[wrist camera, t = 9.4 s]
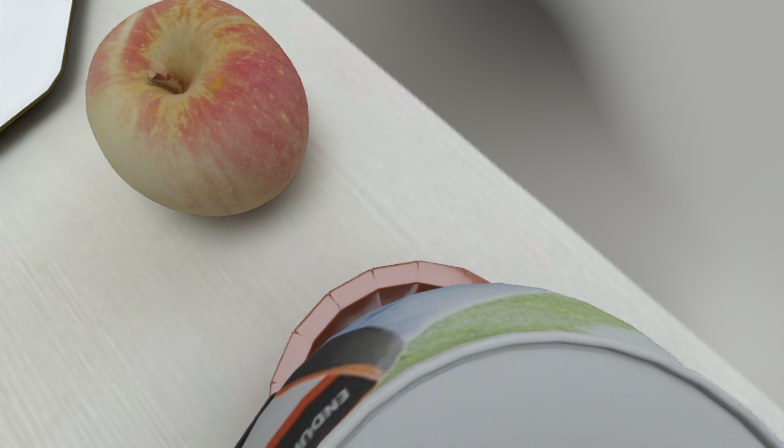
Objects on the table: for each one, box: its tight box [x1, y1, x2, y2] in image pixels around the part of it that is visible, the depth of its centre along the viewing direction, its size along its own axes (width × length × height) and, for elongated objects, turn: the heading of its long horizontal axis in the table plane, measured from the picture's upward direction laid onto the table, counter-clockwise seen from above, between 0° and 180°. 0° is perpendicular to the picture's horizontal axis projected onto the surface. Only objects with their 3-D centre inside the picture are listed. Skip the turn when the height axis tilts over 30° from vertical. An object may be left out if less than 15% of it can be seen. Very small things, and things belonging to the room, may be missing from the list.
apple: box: [86, 0, 309, 216], centre depth 19 cm, size 9×9×8 cm
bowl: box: [269, 261, 490, 397], centre depth 16 cm, size 11×11×4 cm
